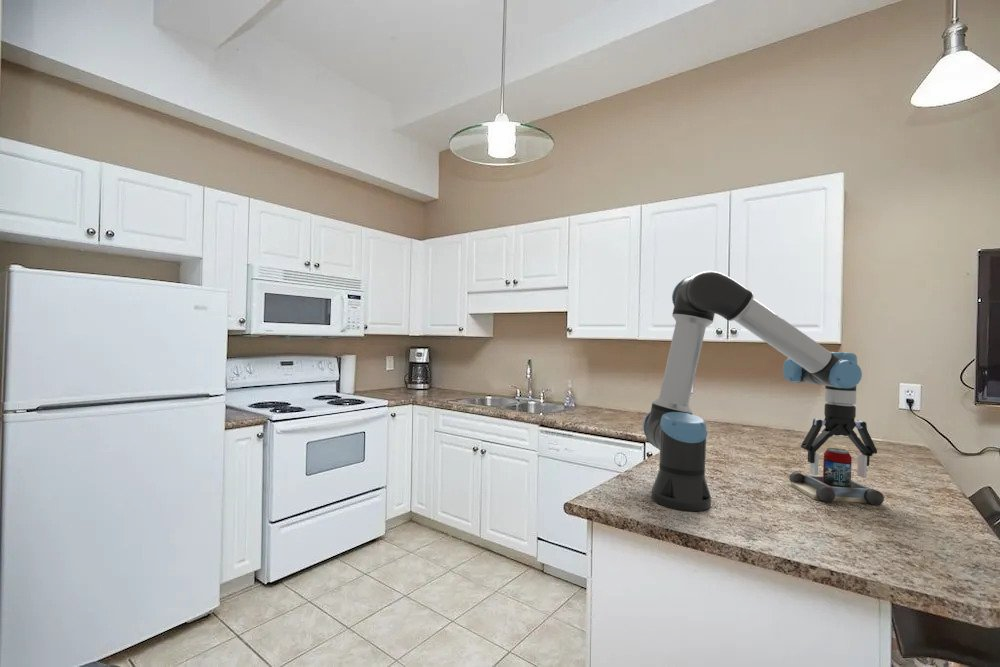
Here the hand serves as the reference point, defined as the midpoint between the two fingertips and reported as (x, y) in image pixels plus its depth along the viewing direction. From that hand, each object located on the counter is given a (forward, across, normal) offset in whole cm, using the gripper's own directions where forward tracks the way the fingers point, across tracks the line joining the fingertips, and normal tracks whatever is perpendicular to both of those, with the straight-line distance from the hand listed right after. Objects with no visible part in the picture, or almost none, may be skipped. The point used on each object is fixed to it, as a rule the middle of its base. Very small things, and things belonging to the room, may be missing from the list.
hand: (837, 475), depth 139 cm
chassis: (+6, +1, 0) cm, 6 cm away
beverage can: (+5, 0, 0) cm, 5 cm away
